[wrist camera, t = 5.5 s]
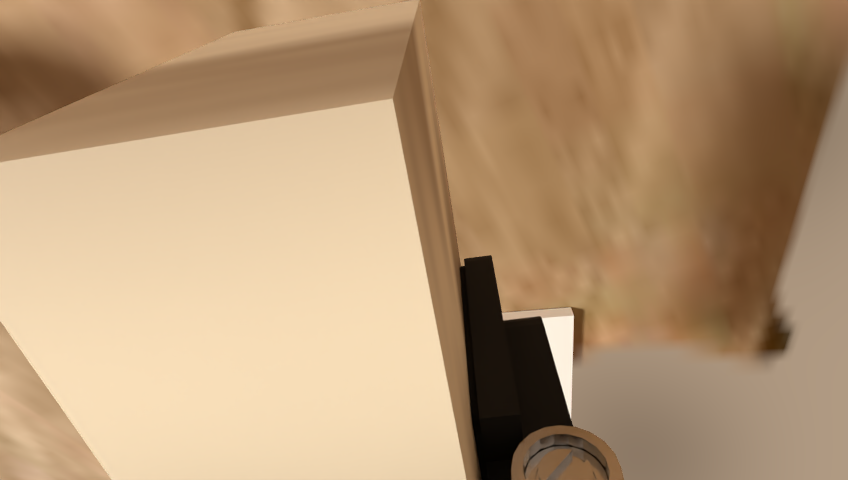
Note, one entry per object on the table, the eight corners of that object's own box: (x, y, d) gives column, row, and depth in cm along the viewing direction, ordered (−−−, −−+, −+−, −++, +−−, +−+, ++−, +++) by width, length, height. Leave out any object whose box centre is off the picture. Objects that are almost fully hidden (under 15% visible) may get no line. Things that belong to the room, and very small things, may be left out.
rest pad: (451, 316, 31) (451, 325, 31) (570, 307, 31) (573, 315, 30) (464, 434, 36) (464, 443, 35) (567, 427, 35) (570, 437, 35)
